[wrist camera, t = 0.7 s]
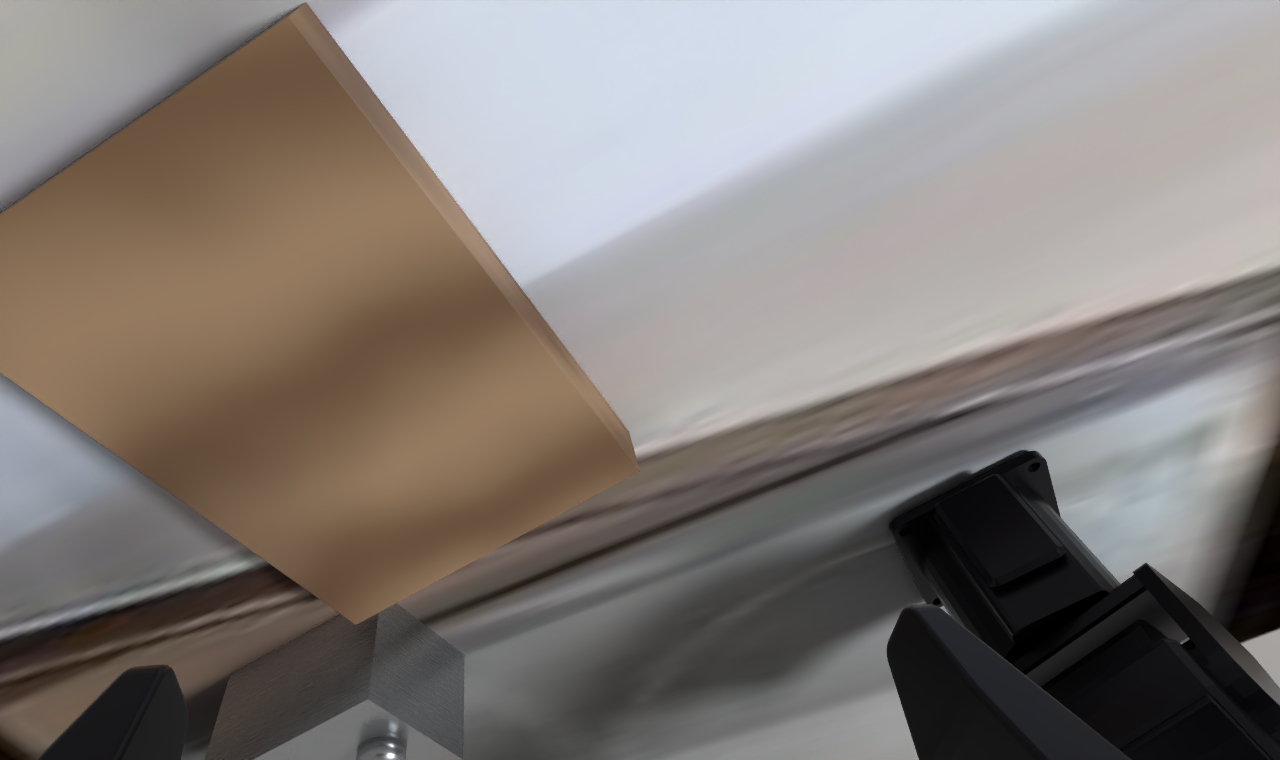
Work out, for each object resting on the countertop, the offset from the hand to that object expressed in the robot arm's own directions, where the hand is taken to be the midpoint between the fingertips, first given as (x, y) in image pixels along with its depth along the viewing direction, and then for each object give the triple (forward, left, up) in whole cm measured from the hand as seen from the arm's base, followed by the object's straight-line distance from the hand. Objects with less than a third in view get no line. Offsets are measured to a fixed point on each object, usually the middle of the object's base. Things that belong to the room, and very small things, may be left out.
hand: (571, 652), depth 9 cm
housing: (-12, +15, -14) cm, 24 cm away
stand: (-1, +6, -14) cm, 15 cm away
